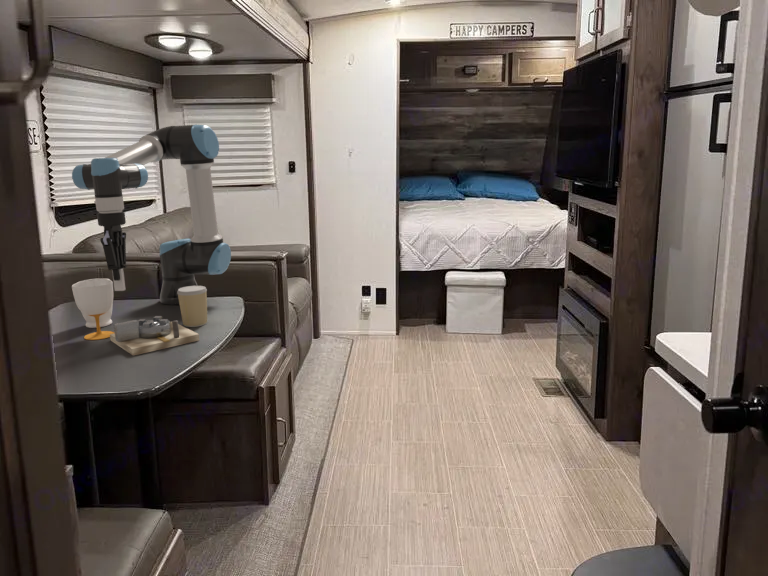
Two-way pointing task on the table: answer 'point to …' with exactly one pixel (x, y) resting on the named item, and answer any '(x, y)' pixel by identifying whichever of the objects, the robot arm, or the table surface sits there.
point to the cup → (94, 302)
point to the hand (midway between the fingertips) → (120, 290)
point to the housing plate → (158, 340)
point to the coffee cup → (193, 305)
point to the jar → (103, 318)
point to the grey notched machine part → (142, 329)
